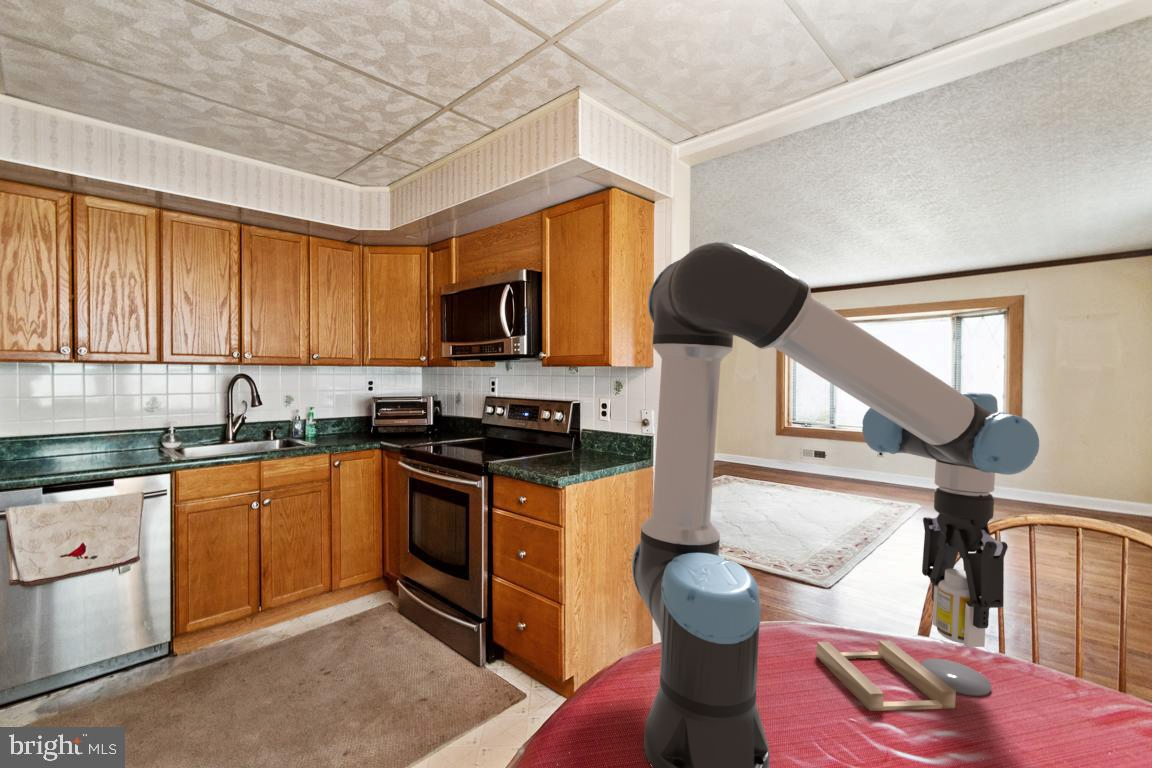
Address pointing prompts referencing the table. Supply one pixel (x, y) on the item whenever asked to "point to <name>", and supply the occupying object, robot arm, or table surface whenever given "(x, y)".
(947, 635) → the supplement bottle
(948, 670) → the coaster
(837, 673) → the open wooden frame
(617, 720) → the table surface
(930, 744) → the table surface
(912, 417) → the robot arm
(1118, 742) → the table surface
